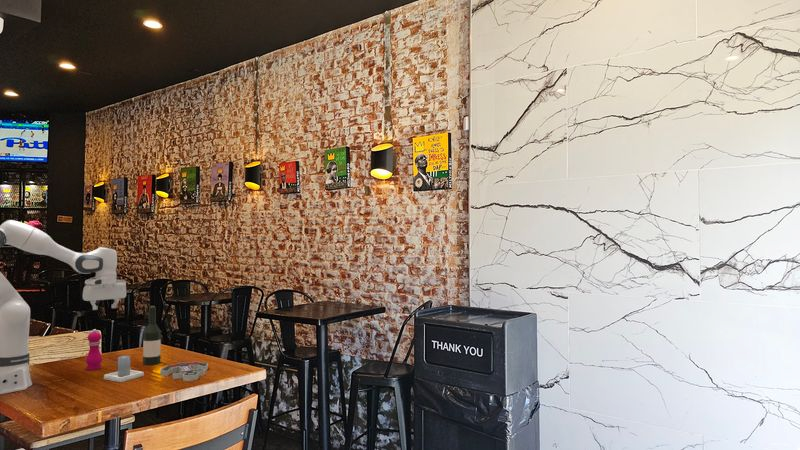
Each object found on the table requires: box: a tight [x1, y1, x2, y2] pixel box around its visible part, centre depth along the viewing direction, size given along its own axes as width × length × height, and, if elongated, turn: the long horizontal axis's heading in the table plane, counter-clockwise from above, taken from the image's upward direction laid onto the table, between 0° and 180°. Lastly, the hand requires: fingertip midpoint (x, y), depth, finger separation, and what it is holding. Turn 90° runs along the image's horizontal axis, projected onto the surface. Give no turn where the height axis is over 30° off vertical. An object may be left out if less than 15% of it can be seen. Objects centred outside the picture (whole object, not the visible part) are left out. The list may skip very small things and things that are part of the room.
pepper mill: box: [85, 328, 103, 371], centre depth 266 cm, size 7×7×20 cm
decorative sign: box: [160, 361, 209, 382], centre depth 257 cm, size 22×3×30 cm
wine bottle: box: [142, 305, 162, 366], centre depth 278 cm, size 8×8×30 cm
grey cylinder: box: [117, 355, 131, 377], centre depth 249 cm, size 5×5×9 cm
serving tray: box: [103, 369, 145, 383], centre depth 249 cm, size 12×12×2 cm
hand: (104, 308), depth 255 cm, fingers open, 8 cm apart
